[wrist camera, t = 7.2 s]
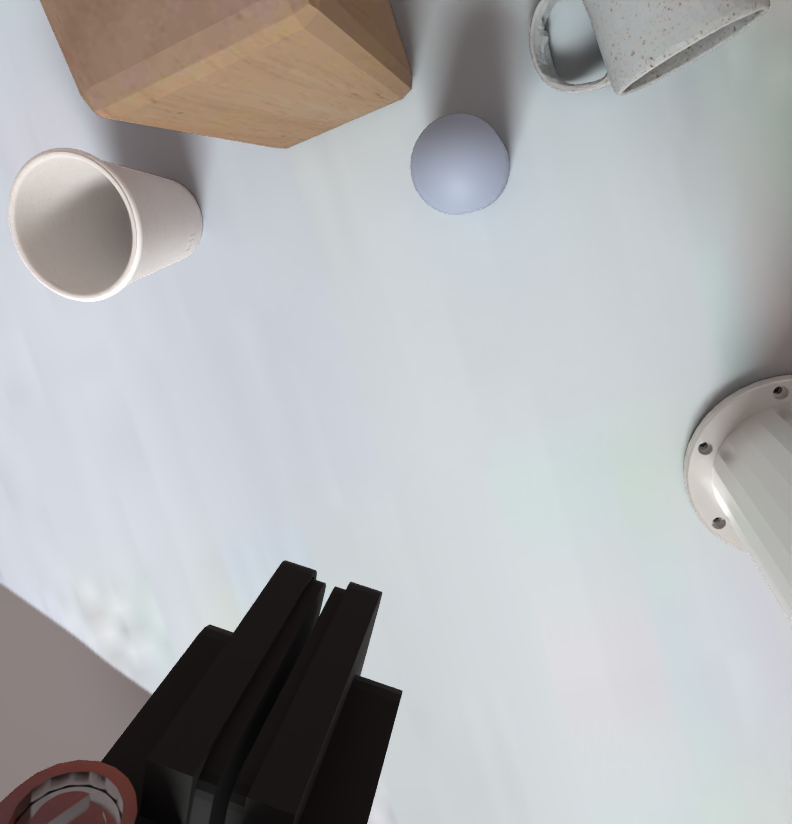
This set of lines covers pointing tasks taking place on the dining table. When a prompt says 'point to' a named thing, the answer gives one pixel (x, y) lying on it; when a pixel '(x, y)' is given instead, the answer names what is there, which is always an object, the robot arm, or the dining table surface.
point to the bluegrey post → (459, 164)
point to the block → (233, 63)
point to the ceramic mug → (646, 37)
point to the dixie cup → (97, 223)
